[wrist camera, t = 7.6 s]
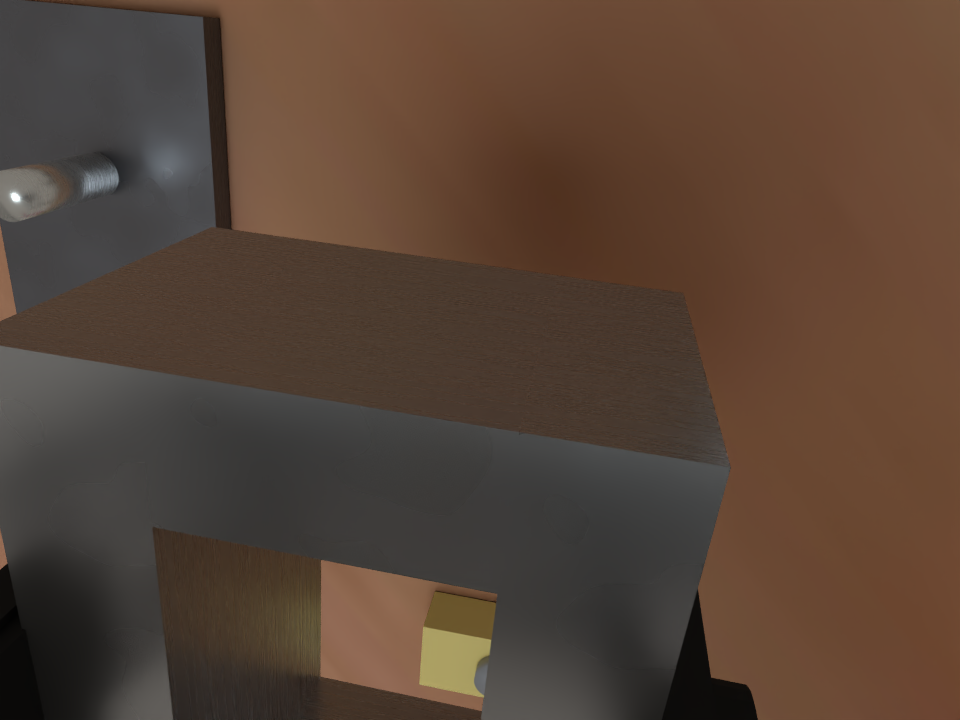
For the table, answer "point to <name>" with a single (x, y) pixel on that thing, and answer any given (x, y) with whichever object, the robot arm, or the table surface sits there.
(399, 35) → the table surface
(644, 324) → the link
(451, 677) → the block
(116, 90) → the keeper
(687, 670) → the robot arm
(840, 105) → the table surface
